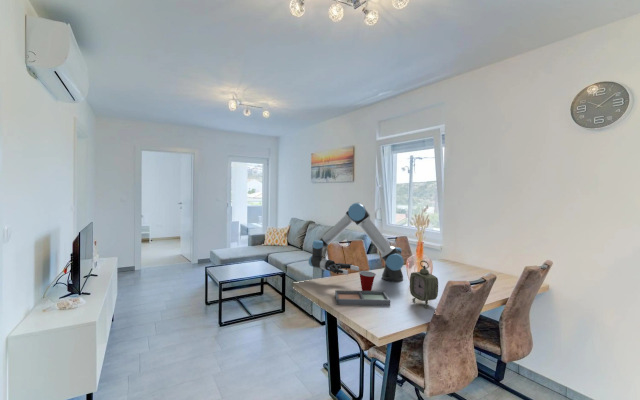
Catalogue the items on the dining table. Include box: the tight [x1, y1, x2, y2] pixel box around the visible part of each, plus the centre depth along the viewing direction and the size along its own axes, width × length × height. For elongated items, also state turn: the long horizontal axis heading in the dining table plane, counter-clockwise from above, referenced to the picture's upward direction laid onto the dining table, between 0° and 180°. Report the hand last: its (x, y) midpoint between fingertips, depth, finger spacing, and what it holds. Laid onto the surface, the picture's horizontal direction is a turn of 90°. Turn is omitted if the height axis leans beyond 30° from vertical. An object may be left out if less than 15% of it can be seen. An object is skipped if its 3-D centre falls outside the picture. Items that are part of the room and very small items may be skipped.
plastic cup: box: [358, 270, 377, 291], centre depth 195 cm, size 11×11×12 cm
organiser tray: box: [334, 289, 391, 306], centre depth 179 cm, size 30×16×3 cm, turn 91°
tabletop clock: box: [409, 260, 439, 309], centre depth 174 cm, size 14×9×25 cm, turn 21°
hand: (353, 270), depth 201 cm, fingers open, 13 cm apart
